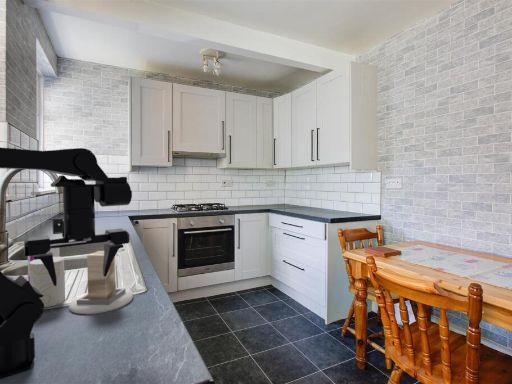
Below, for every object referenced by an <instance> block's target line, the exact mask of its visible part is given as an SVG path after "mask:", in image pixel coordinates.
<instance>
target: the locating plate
mask: <svg viewBox="0 0 512 384" xmlns="http://www.w3.org/2000/svg"><path fill="white" fill-rule="evenodd" d="M131 301H133V291H132V290H130V289H128V288H127V289H126V288H121V287H120V288H119V287H117V281H115V295H113V296H112V297H110V298H109V299H88V292H86V293H85V292H84V293H82V294H80V295H78V296H76V297H74V298H72V299H71V300H70V301H69V305H68V308H69V311H70V312H72V313H75V314H78V315H79V314H80V315H93V314H94V315H96V314H102V313H107V312H111V311H114V310H118V309H120V308H123V307H124V306H126V305H128V304H129V303H131Z"/></svg>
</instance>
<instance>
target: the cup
mask: <svg viewBox="0 0 512 384" xmlns="http://www.w3.org/2000/svg"><path fill="white" fill-rule="evenodd" d="M53 261H54V267H55V273H56V278H57V286H54V284H53V282H52V280H51V277H50V275H49V273H48V270H47V269H46V267H45V266H44V264H43V263H42V261H41V260H40V259H37V260H33V261H31V262H29V274H30V284H31V286H32V287H35V288H36V289H37V290H38V291H39V292H40V293H41V294H42V295H43V297H41V298H40V299H41V300H42V302H43V303H44V308H50V307H52V306H56V305H60V303H63V302H64V301H65V300H66V282H65V281H66V279H65V278H66V275H65V272H66V271H65V270H66V269H65V258H64V257H63V256H60V257H53Z"/></svg>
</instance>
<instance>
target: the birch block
mask: <svg viewBox="0 0 512 384" xmlns="http://www.w3.org/2000/svg"><path fill="white" fill-rule="evenodd" d="M86 257H87V259H86V260H87V261H86V262H87V263H86V265H87V293H88V299H109V298H110V297H112V296H113V295H115V282H116V266H115V265H116V259H115V257H116V256H115V257H114V259H113V261H112V263H111V266H110V268H109V271H108V273H107V275H106V277H104V276H103V261H104V250H97V251H94V252H91V253H90V254H87V255H86Z"/></svg>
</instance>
